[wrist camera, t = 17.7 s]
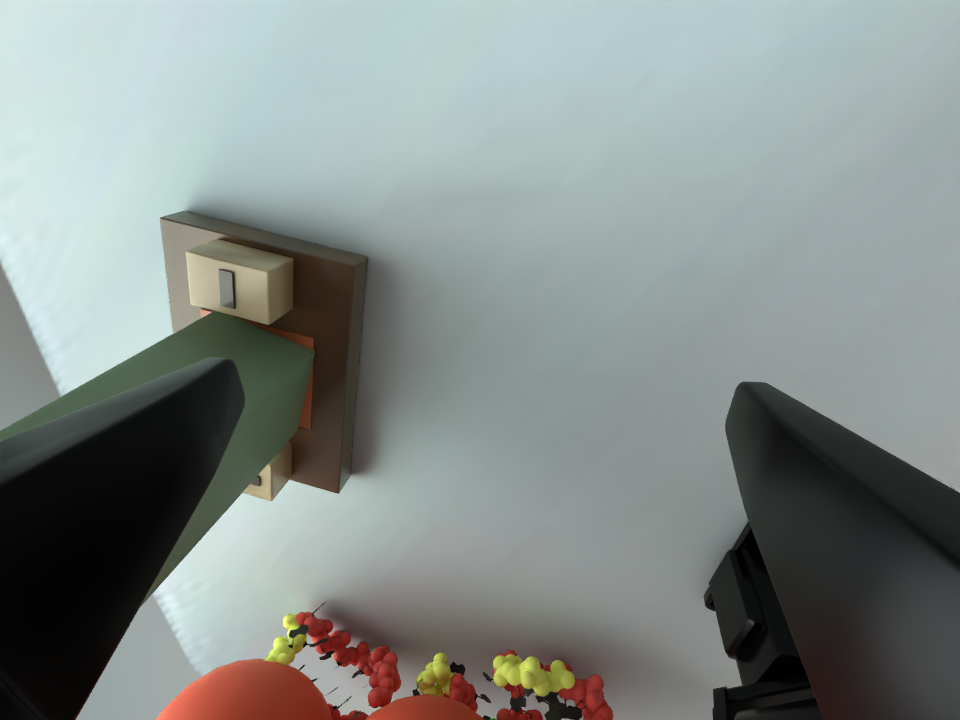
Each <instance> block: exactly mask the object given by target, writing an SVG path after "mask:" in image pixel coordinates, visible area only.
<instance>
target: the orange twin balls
mask: <svg viewBox="0 0 960 720" xmlns="http://www.w3.org/2000/svg"><path fill="white" fill-rule="evenodd" d="M326 602H327V601H326ZM326 602H325V603H326ZM325 603H323V604H322V605H324V604H325ZM322 605H321V606H322ZM321 606H320V607H321ZM320 607H319V608H320ZM319 608H318V609H319ZM318 609H316V610H315V611H314V612H313V613H311V612H306V613H304V612H300V613H299V614H297V615H293V614H288V615H287V616H285V617H284V619H283V625H284V627H285V628H288V629H289V631H288V639H289V642H288V640H287V638H285V637H283V636H280V637H278V638H277V639H275V641H274V644H273V647H274V649H273V650H271V651H270V652H269V654H268V657H267V658H265V659H251V660H243V661H237V662H234V663H231V664H228V665H225V666H222V667H219V668H216V669H214V670H213V671H211V672H209V673H208V674H206V675H204V676H203V677H201V678H199V679H198V680H196V681H195V682H193V683H191V684H190V685H188V686H187V687H186V688H185V689H184V690H183V691H182V692H181V693H180V694H179V695H178V696H177V697H176V698H175V699H174V700H173V701H172V702H171V703H170V704H169V705H168V706H167V707H166V708H165V709H164V710H163V711H162V712H161V713H160V715H159V716H158V717H157V719H156V720H543V716H542V714H541V713H540V712H539V711H538V710H535V709H534V710H528V711H524V710H522V708H521V707H526V699H525V698H524V696H525V694H526V695H527V696H529V695H530V694H531V693H533V692H534V693H536V696H535V697H536V699H537V701H538V702H539V703H540V702H542V701H543V702H545V703H547V702H548V703H547V704H549V711H548V712H547V713H546V714H544V716H545V718H546V719H547V720H561V719H562V718H568V719H574V720H579V719H580V718H581V717H582V715H583V716H584V717H583V720H613V711H612V709H611V708H610V707H609V705H608V704H607V702H606V700H605V699H604V692H603V687H604V682H603V680H602V678H601V677H600V676H599V675H596V674H594V675H592V676H590V677H589V679H588V680H586V679H582V680H580V679H576V678H575V677H574V675H573V673H572V668H571V666H570V665H569V664H566V663H563V662H562V661H560V660H555V661H554V662H552V664H551V665H549V664H548V665H545V666H543V664H542V663H541V662H539V661H538V659H537V658H536V657H534V656H530V657H528V658H527V659H526V660H525V661H523V662H522V660H521V658H520V657H518V656H517V654H516V653H515V651H512V650H508V651H507V652H505V654H504V653H499V654H498V655H497V656H496V658H495V659H494V661H493V667H494V669H493V676H494V679H491V678H490V677H489V676H488V674H487V673H485V672H483V676H484V677H485V678H486V680H488V681H490V682H491V680H494V682H495V684H496V685H497V686H498V687H501V688H503V687H504V688H505V690H507V691H510V692H511V695H512V697H511V700H510V705H511V709H510V711H509V710H508V709H505V708H503V709H501V710H499V711H498V713H497V719H494V718H492V719H491V718H490V717H488V716H485V715H484V717H483V718H482V717H481V716H480V715H478V714H477V713H476V711H477V709H478V705H477V702H476V699H477V697H479V698H481V699H484V700H485V701H486V702H488V703H491V701H490V699H489V698H488V697H487V696H486V695H484V694H481V697H480V696H478V695H477V694H476V692H475V688H474V686H473V685H472V684H469V683H468V682H467V681H466V680H464V677H463V675H464V672H465V667H464V666H463V664H461V665H457V664H456V663H455V662H454V661H453V662H452V664H451V665H450V668H449V665H448V664H447V657H446V655H445V654H444V653H441V652H440V653H437V654H436V655H435V656H434V659H433V662H430V663H429V664H427V666H426V667H425V671H423V672H421V673H419V674H418V676H417V678H416V684H417V689H418V688H419V691H420V692H421V693H422V694H423V695H420V693H419V692H418V690H417V689H416V690H413V696H411V697H406V698H401V699H397V700H395V701H393V702H391V699H392V695H393V692H396V691H397V690H398V689H399V688H400V686H401V679H400V675H399V673H398V669H397V665H396V664H397V661H398V658H397V655H396V654H395V653H393V652H390V649H389V647H388V646H385V645H383V646H381V647H380V648H379V647H378V648H375V649H374V650H373V651H372V654H371V655H370V649H369V645H368V644H367V643H366V642H361V643H359V644H358V645H357V648H355V647H349V648H348V649H347V648H346V646H347V645H348V644H349V643H350V641H351V636H350V634H349V633H347V632H343V633H342V632H341V631H335V632H334V633H332V635H331V636H329V635H328V633H330V632H331V631H332V629H333V623H332V622H331V621H330V620H323V619H317V618H316V617H315V616H314V613H315V612H316V611H317V610H318ZM306 633H308V635H309V636H310V637H311V639H312V641H313V642H314V644H307V642H306V641H307V636H306ZM306 645H310V647H315V646H316V651H317V652H318V653H320V654H325V653H326V655H325V656H322V657H320V660H326V659H328V658H330V657H331V655H332V654H333V653H334V654H333V657H334V660H335V661H336V662H337V664H338V666H343V667H345V666H348V665H349V664H350V663H351V664H352V665H355V666H356V665H358V669H359V670H358V671H357V672H356V673H354V675H353V676H352V678H354V677H356V676H357V675H358V674H360V675H361V674H365V675H366V676H370V678H369V684H370V686H371V687H372V688H373V689H372V690H371V691H370V692H369V695H368V702H369V705H370V706H371V707H373V708H377V707H379V706H380V707H382V708H380V709H378V710H377V711H375V712H373V713H372V714H371V715H370V716H368V715H367V714H365V713H364V712H361V711H356V710H354V711H351V712H350V713H349V714H348V716H347V715H342V716H341V715H340V711H339V710H338V708H339V707H340V706H341V705H342V704H341V705H340V706H338V707H337V706H333V705H331V704H327V702H326V701H325V698H324V697H323V694H322V693H321V692H320V691H319V689H318V688H317V687H316V686H315V685H314V684H313V682H314V681H316V680H317V678H316V679H314V680H310V679H309V678H308V677H307V676H306V675H304V674H303V673H302V672H300V671H299V670H301V669H302V668H303V667H304V666H305V665H303V666H302V667H301V668H300V669H299V670H298V669H296V668H294V667H291V666H289V664H290V663H291V662H292V661H293V660H294V658H295V654H296V653H299V652H300V651H301V650H302V648H304V647H305V646H306ZM331 650H332V651H331ZM336 668H337V667H336ZM450 670H451V672H450ZM360 672H361V673H360ZM454 672H456V673H455V674H454ZM318 679H319V678H318ZM435 682H436V683H437V685H434V684H435ZM337 688H338V687H337ZM337 688H336V689H337ZM363 688H364V687H363ZM442 688H443V690H444V693H443V690H442ZM336 689H334V690H336ZM334 690H333V691H334ZM333 691H331V692H333ZM331 692H330V693H331ZM556 692H557V693H556ZM330 693H328V694H330ZM558 694H559V695H560V697H561V698H564V700H565V704H564V703H560V702H559V700H558V698H557V695H558ZM351 697H352V696H351ZM351 697H349V698H348V699H347V700H346V701H348V700H349V699H350V698H351ZM569 699H570V700H573V701H574V702H575V705H576V706H575V707H572V706H568V707H566V700H569ZM346 701H345V702H346ZM546 701H547V702H546ZM345 702H344V703H345ZM390 702H391V703H390ZM389 703H390V704H389ZM336 707H337V708H336ZM523 711H524V712H525V713H523ZM340 716H341V717H340Z"/></svg>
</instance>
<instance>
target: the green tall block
mask: <svg viewBox="0 0 960 720" xmlns="http://www.w3.org/2000/svg"><path fill="white" fill-rule="evenodd" d="M314 356H315V351H314V350H312V349H309V348H307V347H305V346H302V345H300V344H297V343H295V342H293V341H290V340H288V339H286V338H283V337H281V336H279V335H276V334H274V333H272V332H269V331H267V330H264V329H262V328H260V327H257V326H255V325H253V324H250V323H248V322H246V321H243V320H241V319H239V318H236V317H234V316H231V315H229V314H225V313H221V312H217V311H213V312H211V313H209V314H208V315H206V316H204V317H202V318H200V319H199V320H197V321H195V322H193V323H192V324H190V325H188V326H186V327H184V328H183V329H181V330H179V331H177V332H176V333H174V334H172V335H170V336H168V337H167V338H165V339H163V340H161V341H160V342H158V343H156V344H154V345H152V346H151V347H149V348H147V349H145V350H143V351H142V352H140V353H138V354H136V355H135V356H133V357H131V358H129V359H127V360H126V361H124V362H122V363H120V364H119V365H117V366H115V367H113V368H111V369H110V370H108V371H106V372H104V373H102V374H101V375H99V376H97V377H95V378H94V379H92V380H90V381H88V382H86V383H85V384H83V385H81V386H79V387H78V388H76V389H74V390H72V391H70V392H69V393H67V394H65V395H63V396H62V397H60V398H58V399H56V400H54V401H53V402H51V403H49V404H47V405H45V406H44V407H42V408H40V409H38V410H37V411H35V412H33V413H31V414H29V415H28V416H26V417H24V418H22V419H21V420H19V421H17V422H15V423H13V424H12V425H10V426H8V427H6V428H4V429H3V430H1V431H0V441H2V440H5V439H7V438H10V437H12V436H15V435H17V434H20V433H22V432H25V431H27V430H30V429H32V428H35V427H37V426H40V425H42V424H45V423H47V422H49V421H52V420H54V419H57V418H59V417H62V416H64V415H67V414H69V413H72V412H74V411H77V410H79V409H82V408H84V407H87V406H89V405H92V404H94V403H97V402H99V401H102V400H104V399H107V398H109V397H112V396H114V395H117V394H119V393H121V392H124V391H126V390H129V389H131V388H134V387H136V386H139V385H141V384H144V383H146V382H149V381H151V380H154V379H156V378H159V377H161V376H164V375H166V374H169V373H171V372H174V371H176V370H179V369H181V368H184V367H186V366H189V365H191V364H193V363H196V362H198V361H201V360H203V359H206V358H210V357H217V358H230V359H232V360H233V361H234V362H235V364H236V366H237V369H238V372H239V376H240V379H241V382H242V386H243V389H244V392H245V399H246V400H245V407H244V409H243V412H242V414H241V416H240V419H239V421H238V423H237V426H236V428H235V430H234V433H233V435H232V437H231V440H230V442H229V444H228V446H227V449H226V451H225V453H224V456H223V458H222V460H221V463H220V465H219V467H218V469H217V471H216V473H215V475H214V477H213V479H212V481H211V483H210V485H209V487H208V488H207V490H206V492H205V494H204V495H203V497H202V499H201V501H200V502H199V504H198V506H197V508H196V509H195V511H194V513H193V515H192V516H191V518H190V520H189V522H188V523H187V525H186V527H185V529H184V531H183V532H182V534H181V536H180V538H179V539H178V541H177V543H176V545H175V546H174V548H173V550H172V552H171V553H170V555H169V557H168V559H167V560H166V562H165V564H164V566H163V567H162V569H161V571H160V573H159V574H158V576H157V578H156V580H155V581H154V583H153V585H152V587H151V588H150V590H149V592H148V594H147V595H146V597H145V599H144V601H143V602H142V604H141V606H142V605H143V603H144V602H145V601H146V600H147V599H148V598H149V597H150V596H151V594H152V593H153V592H154V591H155V590H156V589H157V588H158V587H159V585H160V584H161V583H162V582H163V581H164V580H165V579H166V578H167V577H168V575H169V574H170V573H171V572H172V571H173V570H174V569H175V568H176V566H177V565H178V564H179V563H180V562H181V561H182V560H183V559H184V557H185V556H186V555H187V554H188V553H189V552H190V551H191V550H192V548H193V547H194V546H195V545H196V544H197V543H198V542H199V541H200V540H201V538H202V537H203V536H204V535H205V534H206V533H207V532H208V531H209V529H210V528H211V527H212V526H213V525H214V524H215V523H216V522H217V520H218V519H219V518H220V517H221V516H222V515H223V514H224V513H225V511H226V510H227V509H228V508H229V507H230V506H231V505H232V504H233V503H234V501H235V500H236V499H237V498H238V497H239V496H240V495H241V494H242V492H243V491H244V490H245V489H246V488H247V487H248V486H249V485H250V483H251V482H252V481H253V480H254V479H255V478H256V477H257V476H258V474H259V473H260V472H261V471H262V470H263V469H264V468H265V467H266V466H267V464H268V463H269V462H270V461H271V460H272V459H273V458H274V457H275V455H276V454H277V453H278V452H279V451H280V450H281V449H282V448H283V446H284V445H285V444H286V443H287V442H288V441H289V440H290V439H291V437H292V436H293V435H294V434H295V433H296V432H297V431H298V427H299V422H300V418H301V413H302V409H303V404H304V400H305V396H306V391H307V387H308V382H309V378H310V373H311V369H312V365H313V360H314ZM141 606H140V607H141Z"/></svg>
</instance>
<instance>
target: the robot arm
mask: <svg viewBox="0 0 960 720" xmlns="http://www.w3.org/2000/svg"><path fill="white" fill-rule="evenodd" d="M245 400H246V399H245V392H244V389H243V386H242V382H241V379H240V376H239V372H238V369H237V366H236V364H235V362H234V361H233V360H232V359H230V358H217V357H210V358H206V359H203V360H201V361H198V362H196V363H193V364H191V365H189V366H186V367H184V368H181V369H179V370H176V371H174V372H171V373H169V374H166V375H164V376H161V377H159V378H156V379H154V380H151V381H149V382H146V383H144V384H141V385H139V386H136V387H134V388H131V389H129V390H126V391H124V392H121V393H119V394H117V395H114V396H112V397H109V398H107V399H104V400H102V401H99V402H97V403H94V404H92V405H89V406H87V407H84V408H82V409H79V410H77V411H74V412H72V413H69V414H67V415H64V416H62V417H59V418H57V419H54V420H52V421H49V422H47V423H45V424H42V425H40V426H37V427H35V428H32V429H30V430H27V431H25V432H22V433H20V434H17V435H15V436H12V437H10V438H7V439H5V440H2V441H0V720H76V718H77V716H78V715H79V713H80V711H81V709H82V708H83V705H84V704H85V702H86V700H87V698H88V697H89V695H90V693H91V692H92V690H93V688H94V686H95V684H96V683H97V681H98V679H99V677H100V676H101V674H102V672H103V671H104V669H105V667H106V665H107V664H108V662H109V660H110V658H111V657H112V655H113V653H114V651H115V650H116V648H117V646H118V644H119V643H120V641H121V639H122V637H123V636H124V634H125V632H126V630H127V628H128V627H129V625H130V623H131V622H132V620H133V618H134V616H135V614H136V613H137V611H138V609H139V608H140V606H141V604H142V602H143V601H144V599H145V597H146V595H147V594H148V592H149V590H150V588H151V587H152V585H153V583H154V581H155V580H156V578H157V576H158V574H159V573H160V571H161V569H162V567H163V566H164V564H165V562H166V560H167V559H168V557H169V555H170V553H171V552H172V550H173V548H174V546H175V545H176V543H177V541H178V539H179V538H180V536H181V534H182V532H183V531H184V529H185V527H186V525H187V523H188V522H189V520H190V518H191V516H192V515H193V513H194V511H195V509H196V508H197V506H198V504H199V502H200V501H201V499H202V497H203V495H204V494H205V492H206V490H207V488H208V487H209V485H210V483H211V481H212V479H213V477H214V475H215V473H216V471H217V469H218V467H219V465H220V463H221V460H222V458H223V456H224V453H225V451H226V449H227V446H228V444H229V442H230V440H231V437H232V435H233V433H234V430H235V428H236V426H237V423H238V421H239V419H240V416H241V414H242V412H243V409H244V407H245ZM725 429H726V436H727V440H728V444H729V448H730V452H731V456H732V460H733V465H734V469H735V473H736V477H737V481H738V485H739V489H740V493H741V497H742V501H743V505H744V508H745V511H746V514H747V517H748V520H749V522H748V523H747V525H746V527H745V528H744V530H743V532H742V533H741V535H740V536H739V538H738V540H737V541H736V543H735V545H734V546H733V548H732V549H731V550H729V551H728V552H727V553H726V555H725V557H724V558H723V560H722V562H721V563H720V565H719V567H718V568H717V570H716V572H715V573H714V575H713V577H712V578H711V580H710V582H709V585H710V586H709V588H708V589H707V591H706V593H705V594H704V602H705V606H706V607H707V608H708V609H710V610H713V611H716V615H717V619H718V624H719V628H720V632H721V637H722V641H723V645H724V649H725V652H726V654H727V655H728V657H729V658H732V659H735V660H736V662H737V666H738V670H739V674H740V678H741V682H742V686H738V687H733V688H727V687H721V688H716V689H713V700H714V708H713V720H960V493H959V492H957V491H955V490H954V489H952V488H950V487H948V486H947V485H945V484H943V483H941V482H940V481H938V480H936V479H934V478H933V477H931V476H929V475H927V474H926V473H924V472H922V471H920V470H918V469H917V468H915V467H913V466H911V465H910V464H908V463H906V462H904V461H903V460H901V459H899V458H897V457H896V456H894V455H892V454H890V453H889V452H887V451H885V450H883V449H882V448H880V447H878V446H876V445H875V444H873V443H871V442H869V441H868V440H866V439H864V438H862V437H861V436H859V435H857V434H855V433H854V432H852V431H850V430H848V429H847V428H845V427H843V426H841V425H840V424H838V423H836V422H834V421H832V420H831V419H829V418H827V417H825V416H824V415H822V414H820V413H818V412H817V411H815V410H813V409H811V408H810V407H808V406H806V405H804V404H803V403H801V402H799V401H797V400H796V399H794V398H792V397H790V396H789V395H787V394H785V393H783V392H782V391H780V390H778V389H776V388H775V387H773V386H771V385H769V384H767V383H764V382H741V383H740V384H739V385H738V386H737V388H736V390H735V393H734V396H733V399H732V402H731V406H730V409H729V412H728V415H727V419H726V424H725Z"/></svg>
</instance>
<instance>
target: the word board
mask: <svg viewBox="0 0 960 720" xmlns="http://www.w3.org/2000/svg"><path fill="white" fill-rule="evenodd" d="M160 223H161V232H162V241H163V249H164V258H165V267H166V275H167V284H168V293H169V302H170V310H171V319H172V328H173V334H174V333H176V332H177V331H179V330H181V329H183V328H184V327H186V326H188V325H190V324H192V323H193V322H195V321H197V320H199V319H200V318H202V317H204V316H206V315H208V314H209V313H211V312H213V311H217V312H221V313H225V314H229V315H231V316H234V317H236V318H239V319H241V320H243V321H246V322H248V323H250V324H253V325H255V326H257V327H260V328H262V329H264V330H267V331H269V332H272V333H274V334H276V335H279V336H281V337H283V338H286V339H288V340H290V341H293V342H295V343H297V344H300V345H302V346H305V347H307V348H309V349H312V350H314V351H315V356H314V360H313V365H312V369H311V373H310V378H309V382H308V387H307V391H306V396H305V400H304V404H303V409H302V413H301V418H300V422H299V427H298V431H297V432H296V433H295V434H294V435H293V436H292V437H291V439H290V440H289V441H288V442H287V443H286V444H285V445H284V446H283V448H282V449H281V450H280V451H279V452H278V453H277V454H276V455H275V457H274V458H273V459H272V460H271V461H270V462H269V463H268V464H267V466H266V467H265V468H264V469H263V470H262V471H261V472H260V473H259V474H258V476H257V477H256V478H255V479H254V480H253V481H252V482H251V483H250V485H249V486H248V487H247V488H246V489H245V490H244V491H243V492H242V493H246V494H249V495H252V496H256V497H259V498H262V499H266V500H269V501H272V500H273V499H274V498H275V497H276V495H277V494H278V493H279V492H280V490H281V489H282V488H283V487H284V485H285V484H286V483H287V482H288V480H293V481H296V482H300V483H303V484H307V485H310V486H314V487H317V488H320V489H324V490H327V491H331V492H334V493H338V494H339V493H340V491H341V490H342V488H343V486H344V485H345V483H346V482H347V480H348V479H349V477H350V469H351V457H352V445H353V432H354V420H355V408H356V396H357V383H358V371H359V359H360V346H361V334H362V322H363V310H364V297H365V285H366V273H367V260H368V257H366V256H363V255H359V254H354V253H350V252H346V251H342V250H338V249H334V248H330V247H326V246H322V245H318V244H314V243H310V242H306V241H302V240H298V239H294V238H290V237H286V236H282V235H278V234H274V233H270V232H266V231H262V230H258V229H254V228H250V227H246V226H241V225H237V224H233V223H229V222H225V221H221V220H217V219H213V218H209V217H205V216H201V215H197V214H193V213H189V212H185V211H182V212H178V213H175V214H171V215H167V216H164V217H161V218H160Z"/></svg>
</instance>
